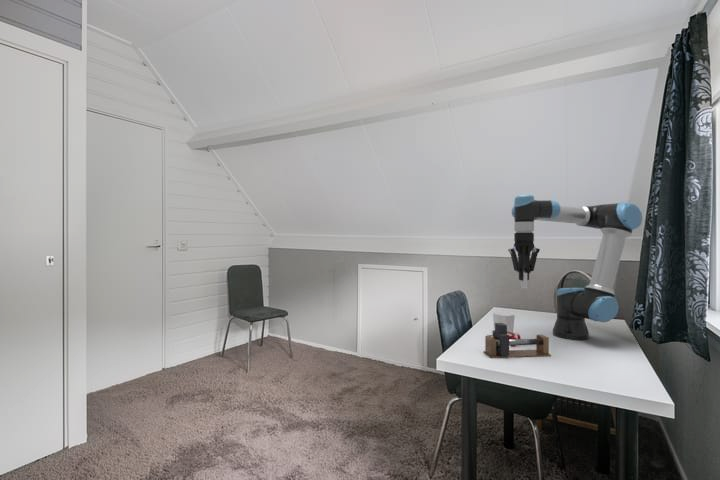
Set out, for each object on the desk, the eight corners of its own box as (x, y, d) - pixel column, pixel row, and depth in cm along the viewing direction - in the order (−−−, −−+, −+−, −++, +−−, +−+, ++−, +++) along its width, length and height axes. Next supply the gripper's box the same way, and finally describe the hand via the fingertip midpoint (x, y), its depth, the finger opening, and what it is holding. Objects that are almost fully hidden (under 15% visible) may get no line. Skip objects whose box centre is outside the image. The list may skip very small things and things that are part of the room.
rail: (540, 350, 155) (541, 333, 155) (551, 356, 148) (551, 338, 148) (483, 352, 152) (483, 335, 152) (490, 358, 145) (491, 340, 145)
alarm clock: (494, 329, 175) (526, 328, 165) (497, 343, 175) (529, 342, 165) (484, 334, 168) (517, 332, 158) (487, 348, 167) (521, 347, 157)
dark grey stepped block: (499, 349, 154) (499, 321, 153) (509, 355, 146) (509, 326, 145) (492, 349, 153) (492, 321, 153) (501, 355, 145) (502, 326, 145)
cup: (489, 333, 181) (489, 313, 181) (497, 329, 189) (497, 310, 189) (510, 337, 175) (510, 316, 175) (517, 333, 182) (517, 313, 182)
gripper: (533, 232, 160) (533, 286, 160) (504, 232, 159) (504, 287, 159) (544, 232, 152) (543, 289, 153) (513, 232, 151) (513, 289, 152)
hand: (523, 288), depth 156 cm, fingers closed
